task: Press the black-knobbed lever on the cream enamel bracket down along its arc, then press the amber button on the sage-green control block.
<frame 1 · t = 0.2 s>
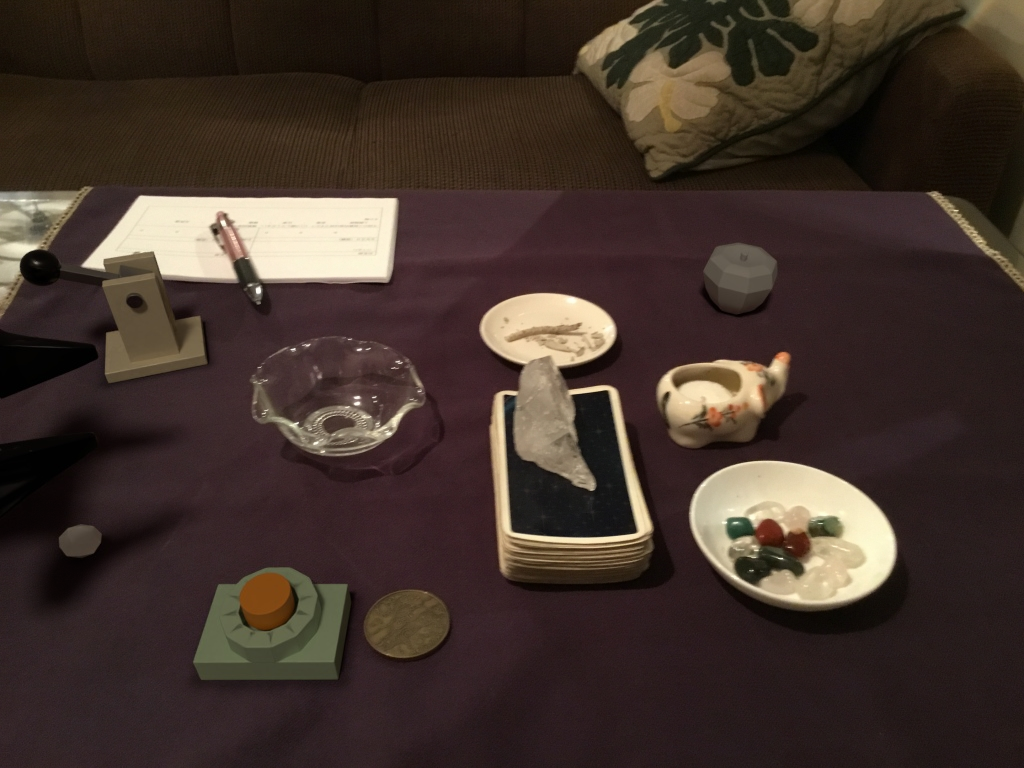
hand: (96, 392, 51), 14 cm above the table, tool horizontal, fingers open, 9 cm apart
gemstone: (82, 559, 59), on the table
press lever: (87, 276, 71), point 10 cm above the table, hinge at 25.0°
lever bracket: (158, 353, 78), on the table
start button: (267, 600, 51), point 4 cm above the table, slide at 0.1 cm
button block: (279, 639, 54), on the table
apple: (732, 306, 86), on the table
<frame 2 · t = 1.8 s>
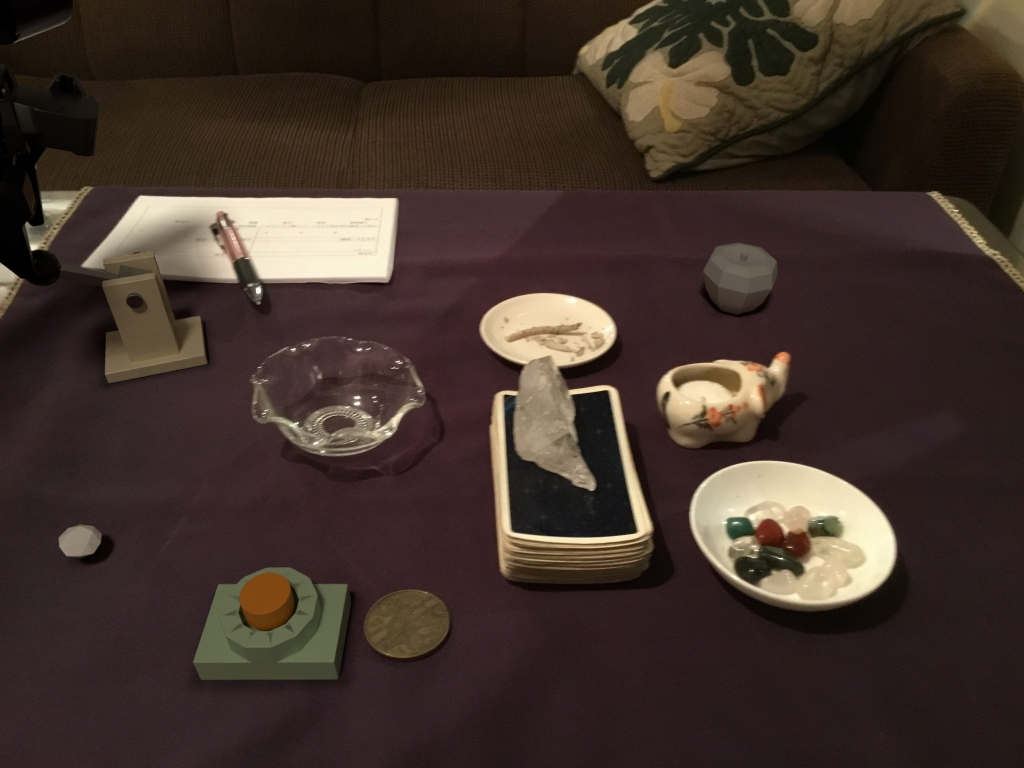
hand: (33, 250, 68), 13 cm above the table, tool pointing down, fingers open, 9 cm apart
nothing on the table moved.
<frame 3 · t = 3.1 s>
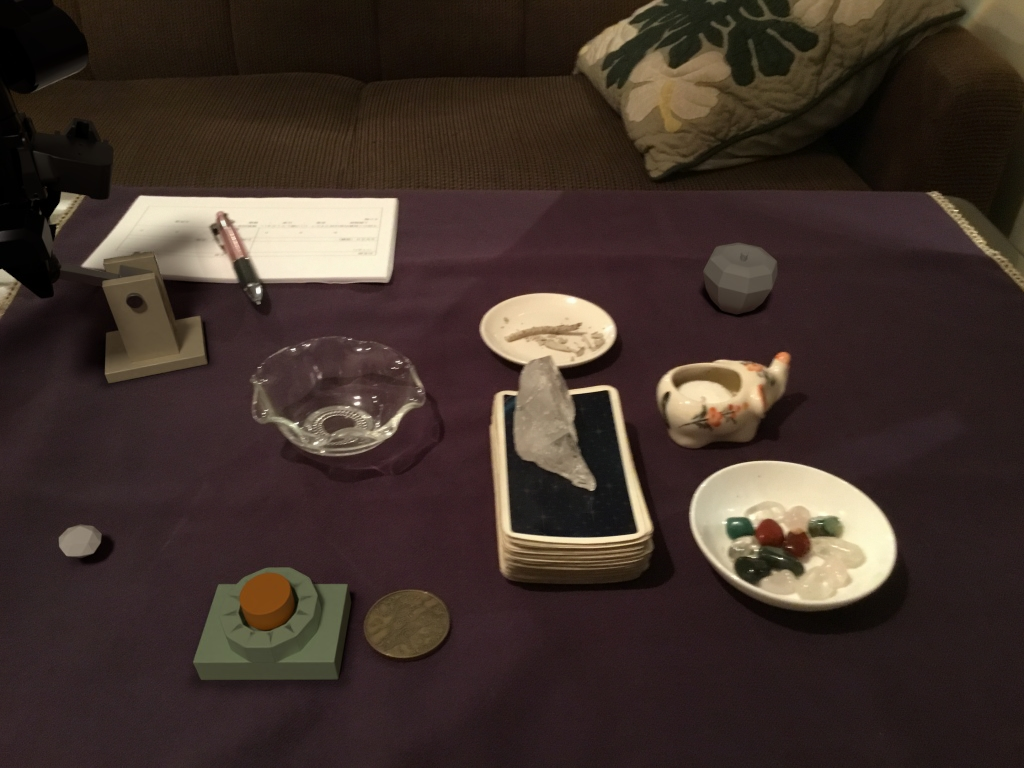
hand: (49, 287, 70), 9 cm above the table, tool pointing down, fingers closed on press lever, 3 cm apart
press lever: (87, 276, 71), point 10 cm above the table, hinge at 25.0°, touching gripper
everything else where it was.
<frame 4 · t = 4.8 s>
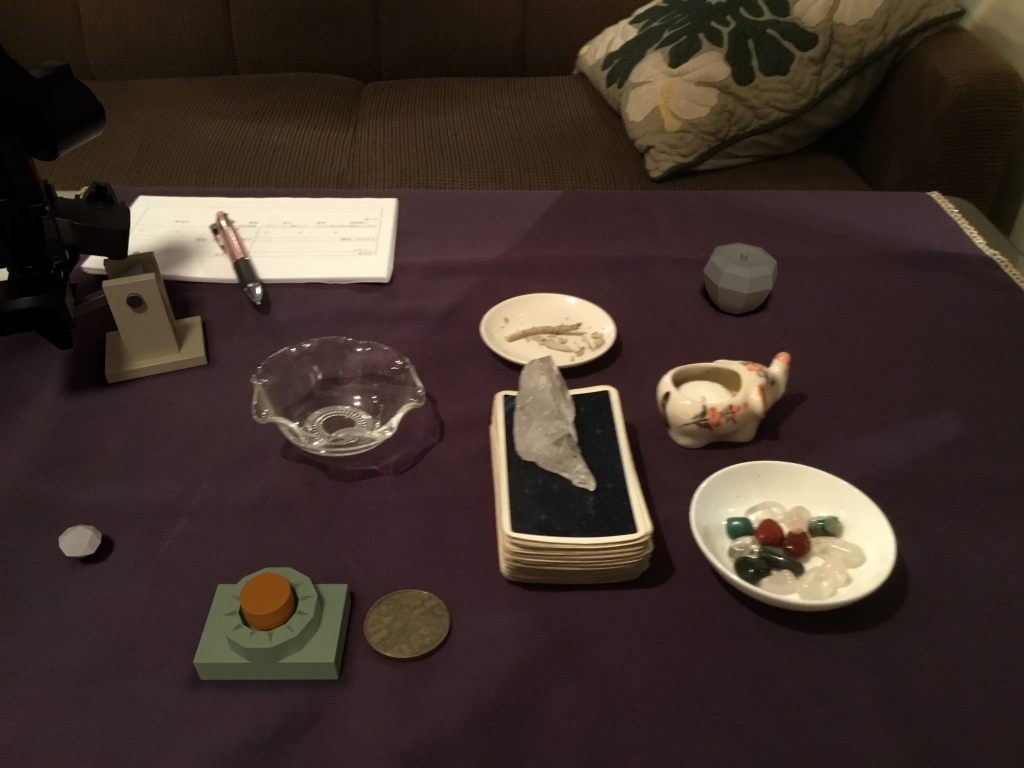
hand: (68, 339, 74), 3 cm above the table, tool pointing down, fingers closed on press lever, 3 cm apart
press lever: (94, 300, 73), point 7 cm above the table, hinge at -14.8°, touching gripper
everything else where it was.
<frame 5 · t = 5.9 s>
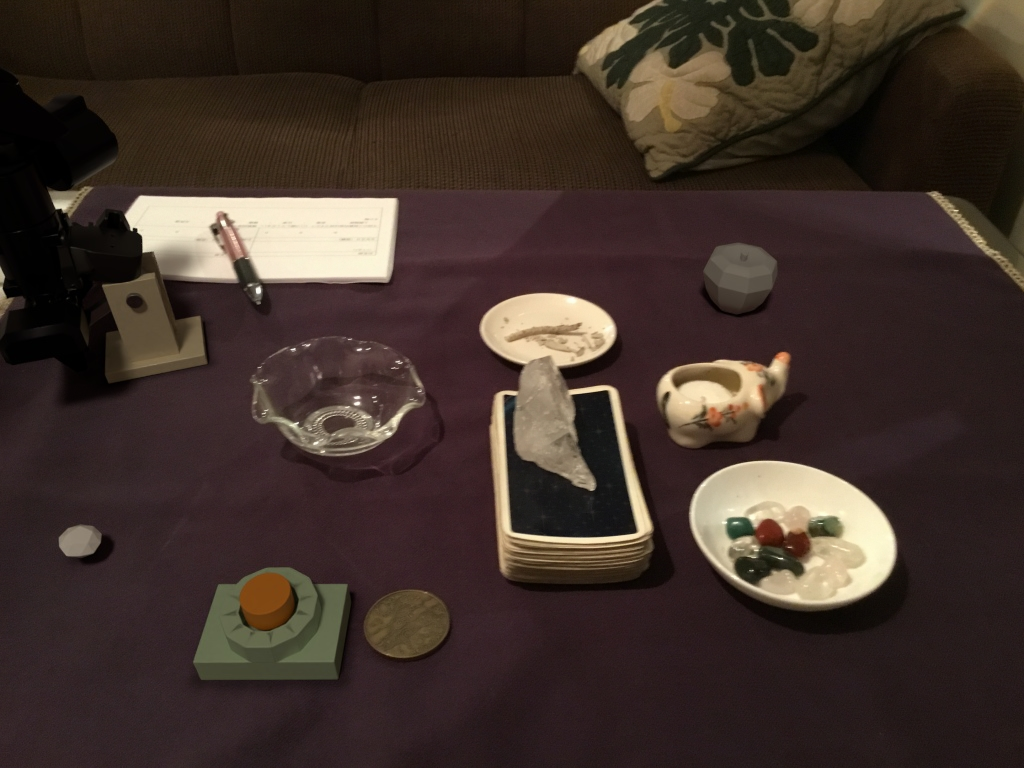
hand: (83, 361, 76), 1 cm above the table, tool pointing down, fingers closed on press lever, 3 cm apart
press lever: (101, 308, 73), point 6 cm above the table, hinge at -29.2°, touching gripper
everything else where it was.
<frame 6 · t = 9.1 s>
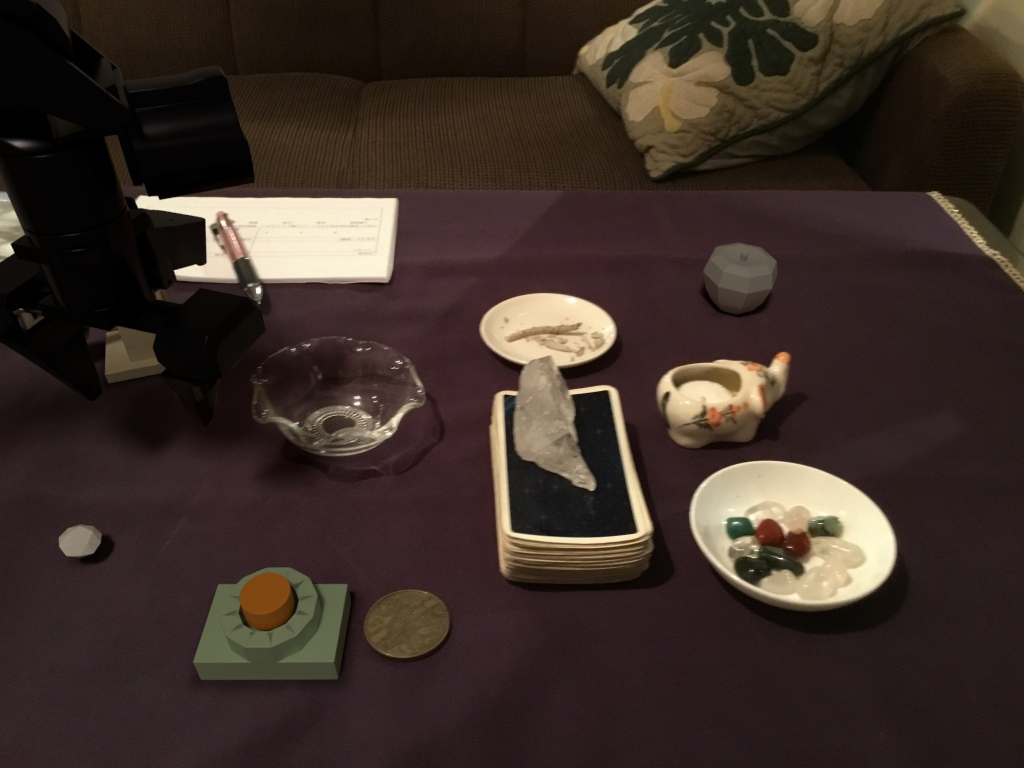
hand: (150, 410, 56), 11 cm above the table, tool pointing down, fingers open, 9 cm apart
press lever: (101, 308, 73), point 6 cm above the table, hinge at -28.7°
everything else where it was.
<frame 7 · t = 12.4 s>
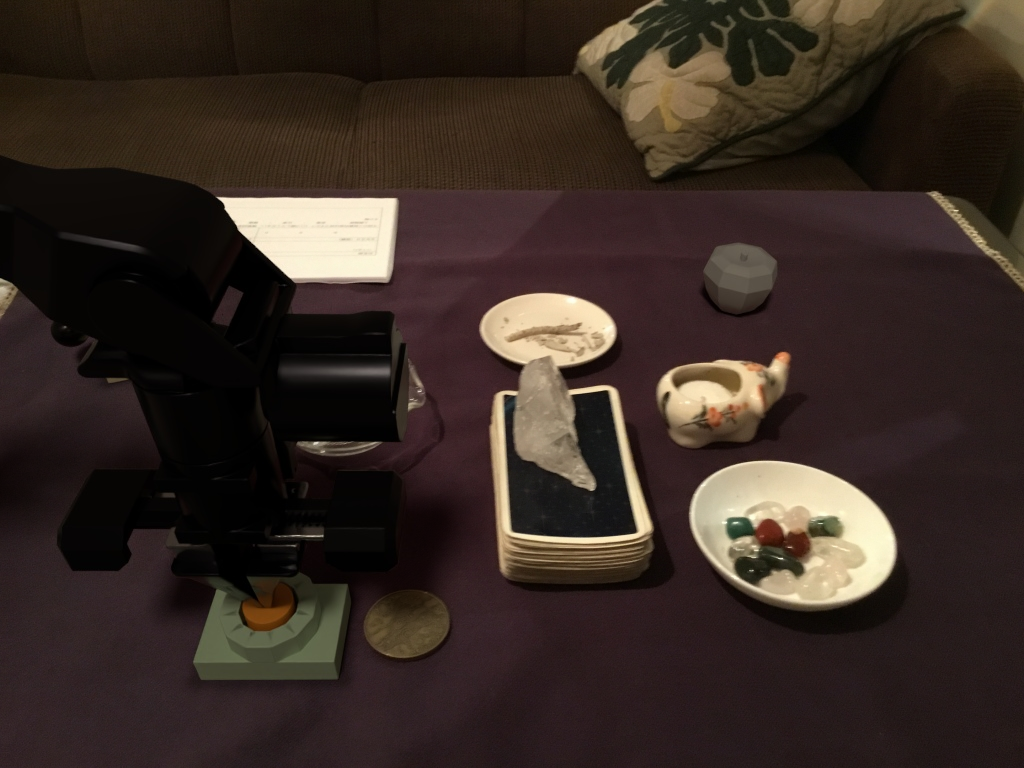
hand: (267, 601, 51), 4 cm above the table, tool pointing down, fingers closed, pressing on start button
start button: (270, 609, 52), point 4 cm above the table, slide at -0.9 cm, touching gripper
everything else where it was.
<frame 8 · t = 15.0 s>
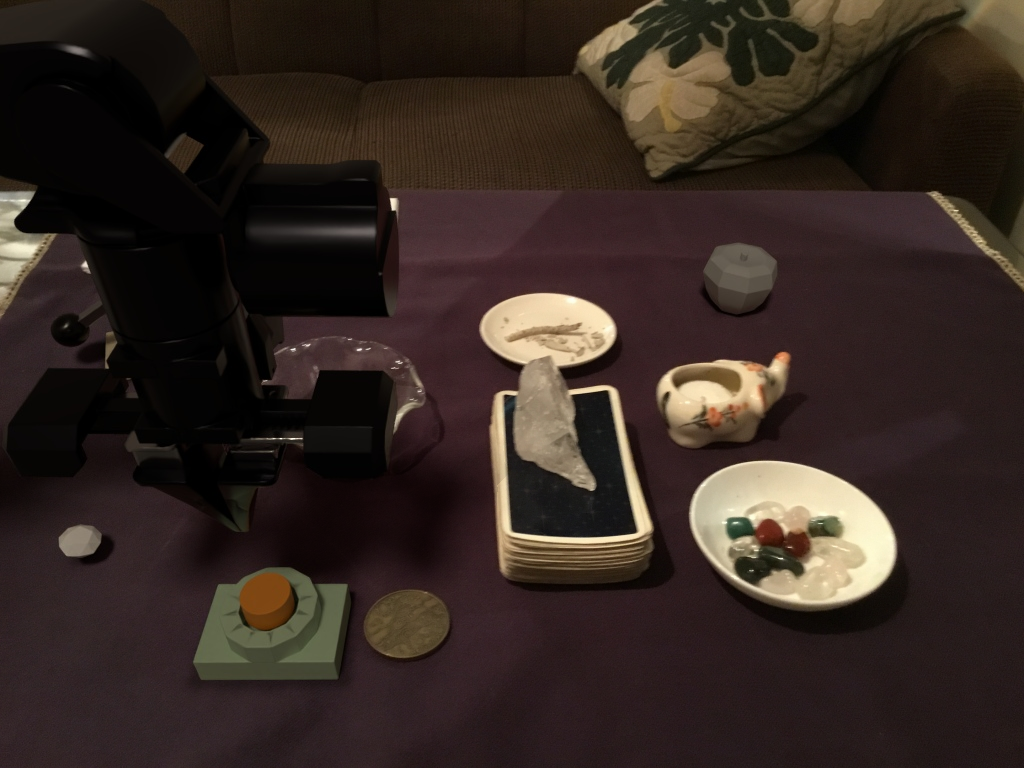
hand: (244, 525, 46), 12 cm above the table, tool pointing down, fingers closed
start button: (267, 600, 51), point 5 cm above the table, slide at 0.1 cm
everything else where it was.
at the end: press lever at -29° (first picture: +25°); start button pushed in 1.1 cm at the most during the clip, back to where it started at the end; start button slide at 0.1 cm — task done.
